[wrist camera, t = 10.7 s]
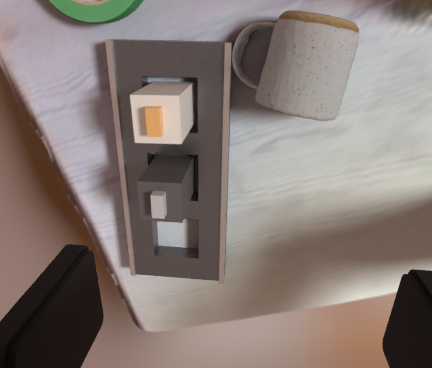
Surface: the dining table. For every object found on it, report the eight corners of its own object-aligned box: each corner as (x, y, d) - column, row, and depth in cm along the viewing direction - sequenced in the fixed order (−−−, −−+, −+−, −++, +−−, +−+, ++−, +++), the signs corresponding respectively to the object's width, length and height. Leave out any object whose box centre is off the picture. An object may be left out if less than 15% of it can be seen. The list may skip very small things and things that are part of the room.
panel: (232, 41, 34) (231, 42, 32) (225, 271, 46) (223, 282, 43) (113, 39, 35) (104, 40, 33) (136, 264, 47) (130, 275, 44)
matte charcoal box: (194, 154, 39) (179, 188, 31) (195, 187, 41) (180, 228, 33) (158, 152, 40) (133, 185, 31) (160, 185, 41) (137, 225, 33)
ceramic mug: (353, 23, 32) (378, 22, 25) (327, 109, 36) (343, 130, 29) (241, 4, 33) (236, -2, 26) (226, 91, 36) (218, 106, 29)
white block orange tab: (194, 81, 36) (176, 97, 28) (195, 121, 38) (179, 147, 29) (154, 81, 36) (125, 97, 28) (157, 120, 38) (131, 146, 30)
